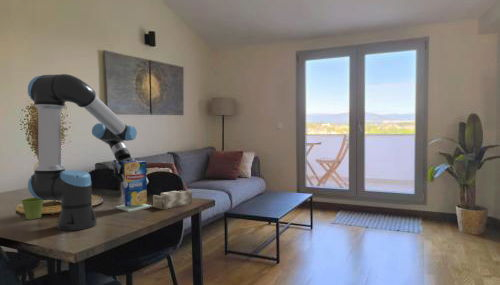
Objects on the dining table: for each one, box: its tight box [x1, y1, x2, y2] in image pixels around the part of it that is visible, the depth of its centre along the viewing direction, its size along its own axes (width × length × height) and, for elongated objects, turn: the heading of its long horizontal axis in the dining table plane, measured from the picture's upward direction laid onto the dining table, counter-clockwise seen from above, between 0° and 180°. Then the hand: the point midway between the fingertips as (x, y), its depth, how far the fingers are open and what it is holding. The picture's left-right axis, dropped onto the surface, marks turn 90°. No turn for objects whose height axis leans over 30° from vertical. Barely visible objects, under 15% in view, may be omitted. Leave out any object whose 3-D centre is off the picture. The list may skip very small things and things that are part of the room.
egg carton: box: [152, 190, 193, 210], centre depth 191 cm, size 18×10×7 cm, turn 138°
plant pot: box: [20, 197, 45, 220], centre depth 167 cm, size 9×9×9 cm
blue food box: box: [120, 160, 148, 206], centre depth 186 cm, size 7×11×22 cm, turn 123°
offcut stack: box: [159, 190, 179, 196], centre depth 192 cm, size 12×5×6 cm, turn 138°
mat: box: [115, 203, 153, 213], centre depth 186 cm, size 13×13×1 cm
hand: (137, 184), depth 184 cm, fingers closed on blue food box, 11 cm apart
